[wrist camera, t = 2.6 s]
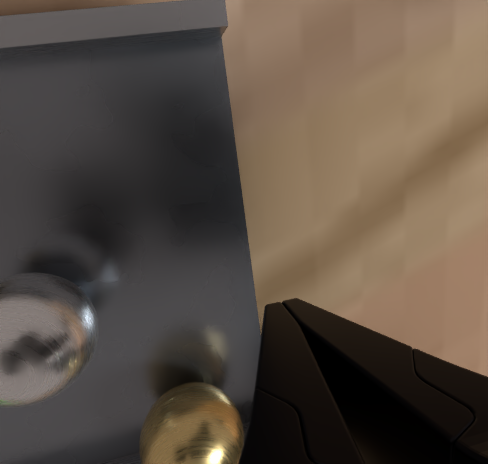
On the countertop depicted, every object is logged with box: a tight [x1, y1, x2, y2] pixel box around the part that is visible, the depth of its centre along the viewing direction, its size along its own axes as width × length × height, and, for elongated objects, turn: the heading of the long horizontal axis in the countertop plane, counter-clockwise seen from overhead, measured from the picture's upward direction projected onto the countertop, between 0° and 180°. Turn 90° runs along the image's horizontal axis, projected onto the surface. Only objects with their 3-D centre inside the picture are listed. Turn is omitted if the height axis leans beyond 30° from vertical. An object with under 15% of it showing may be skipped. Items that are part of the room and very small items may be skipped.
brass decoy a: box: [139, 382, 244, 464], centre depth 11 cm, size 3×3×3 cm
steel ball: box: [0, 273, 99, 408], centre depth 9 cm, size 3×3×3 cm
